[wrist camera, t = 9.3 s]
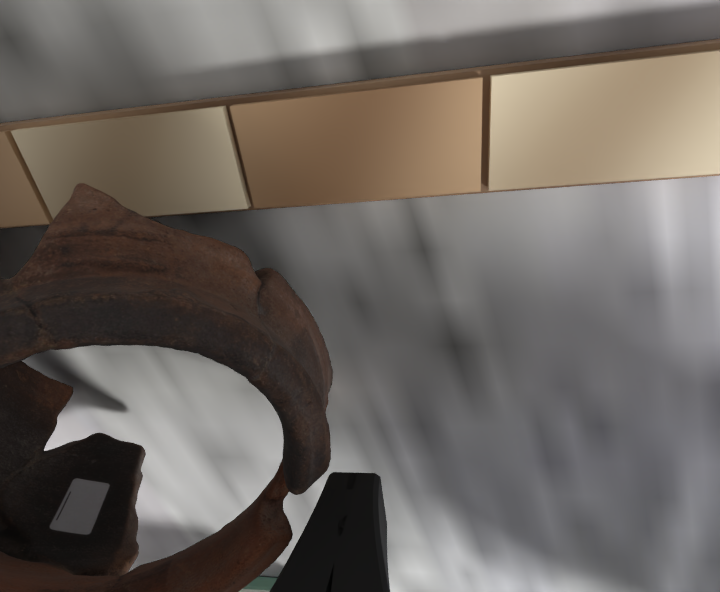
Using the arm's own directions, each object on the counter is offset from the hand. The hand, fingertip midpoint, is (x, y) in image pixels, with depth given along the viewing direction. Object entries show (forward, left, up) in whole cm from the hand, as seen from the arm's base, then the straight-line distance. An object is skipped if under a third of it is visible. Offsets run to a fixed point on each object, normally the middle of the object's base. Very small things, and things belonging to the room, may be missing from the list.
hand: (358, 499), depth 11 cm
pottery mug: (+6, -2, -3) cm, 7 cm away
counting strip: (+2, -8, -3) cm, 8 cm away
